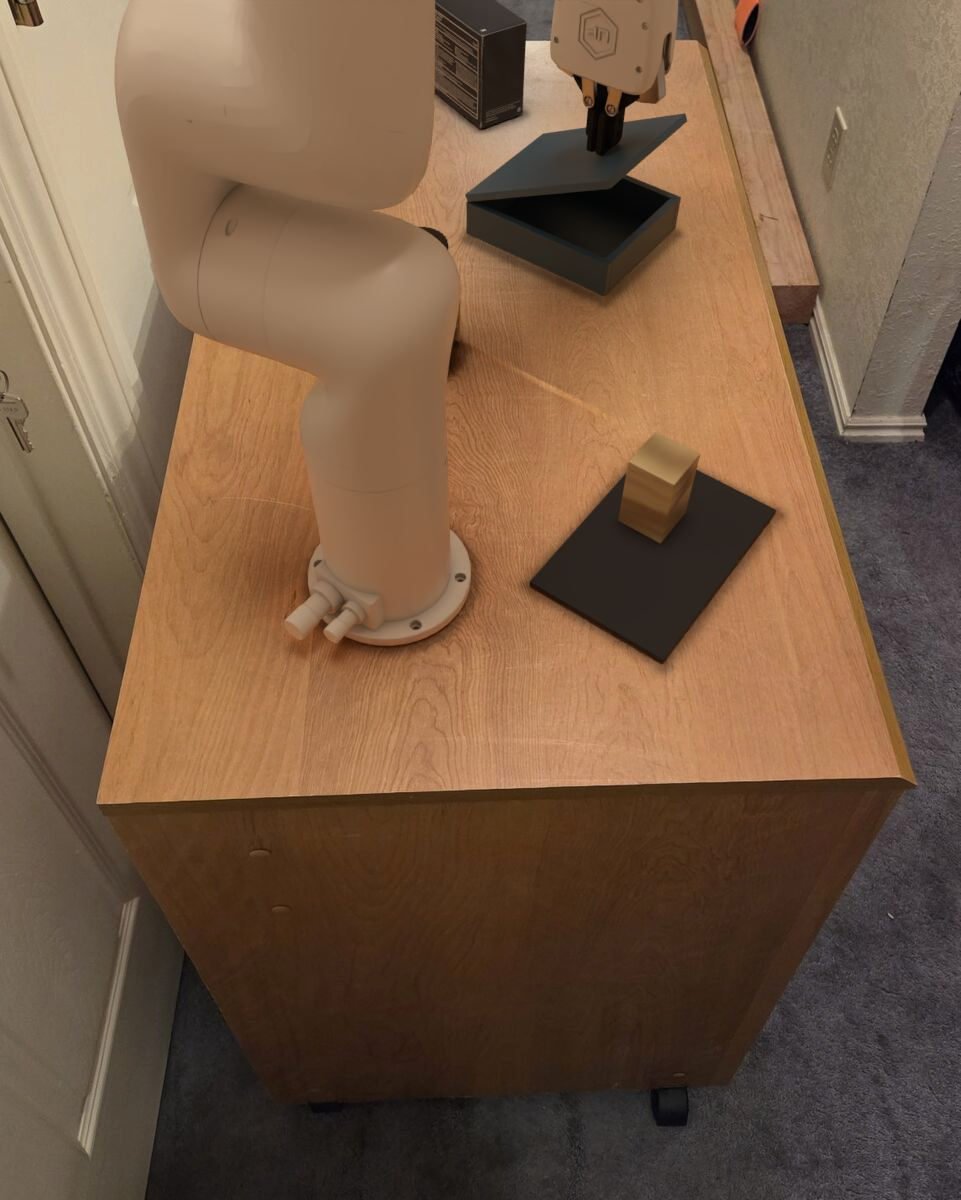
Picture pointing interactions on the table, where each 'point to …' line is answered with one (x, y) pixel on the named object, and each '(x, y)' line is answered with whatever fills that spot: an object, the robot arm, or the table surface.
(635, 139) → the lunchbox lid
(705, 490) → the mat
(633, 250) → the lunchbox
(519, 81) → the small box
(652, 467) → the block
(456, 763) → the table surface
